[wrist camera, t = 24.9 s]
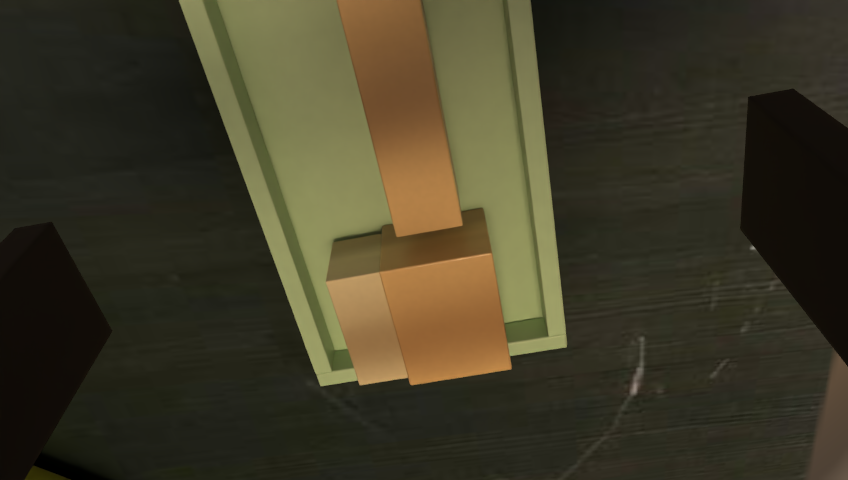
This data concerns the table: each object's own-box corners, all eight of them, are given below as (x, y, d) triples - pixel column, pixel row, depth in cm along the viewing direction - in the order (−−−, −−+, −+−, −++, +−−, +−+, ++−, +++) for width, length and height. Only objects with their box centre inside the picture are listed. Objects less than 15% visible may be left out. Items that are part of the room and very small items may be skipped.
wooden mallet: (229, -95, 23) (201, -82, 20) (424, -138, 22) (426, -132, 19) (364, 340, 33) (360, 394, 29) (502, 317, 32) (512, 369, 29)
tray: (139, -165, 22) (118, -164, 20) (495, -248, 21) (504, -253, 19) (324, 358, 34) (320, 387, 32) (559, 320, 33) (567, 347, 31)
